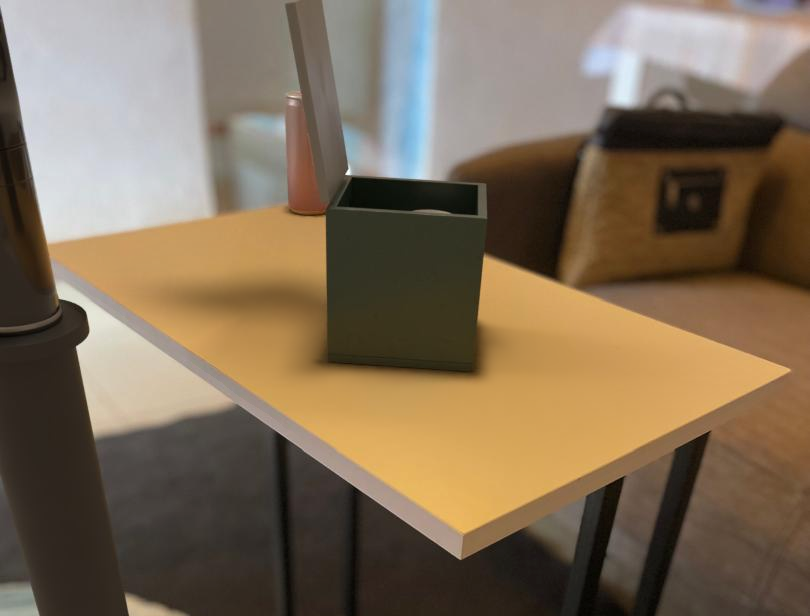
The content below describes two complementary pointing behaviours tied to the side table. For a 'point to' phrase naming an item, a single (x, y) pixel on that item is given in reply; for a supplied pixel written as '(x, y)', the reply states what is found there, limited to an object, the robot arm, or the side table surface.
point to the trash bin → (404, 272)
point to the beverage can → (300, 160)
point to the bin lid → (318, 93)
